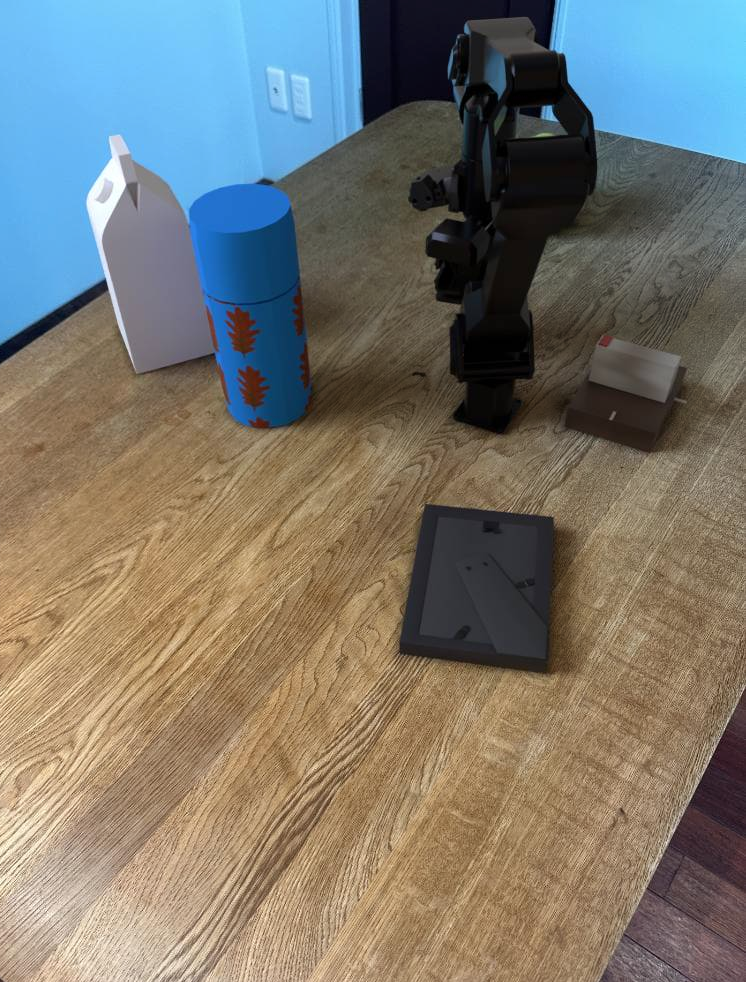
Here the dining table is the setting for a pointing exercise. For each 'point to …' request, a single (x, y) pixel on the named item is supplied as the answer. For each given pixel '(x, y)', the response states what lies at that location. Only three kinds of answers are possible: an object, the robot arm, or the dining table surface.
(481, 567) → the picture frame
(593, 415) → the dark brown pegged box
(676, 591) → the dining table surface
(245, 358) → the thermos
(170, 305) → the milk
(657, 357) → the light gray block
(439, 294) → the end cap
